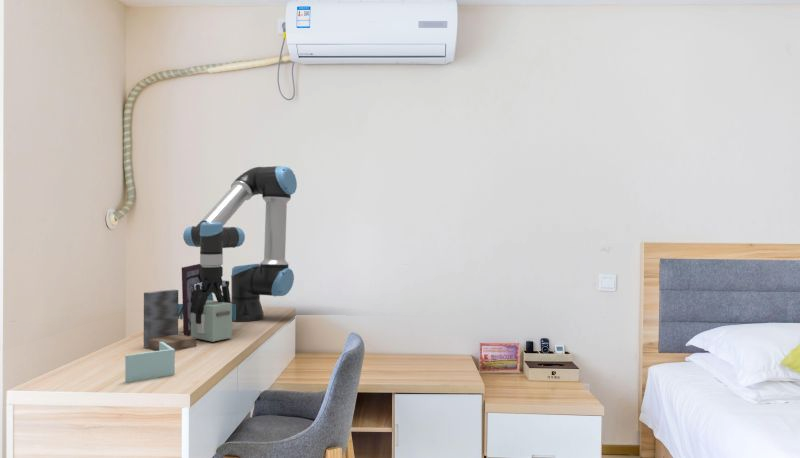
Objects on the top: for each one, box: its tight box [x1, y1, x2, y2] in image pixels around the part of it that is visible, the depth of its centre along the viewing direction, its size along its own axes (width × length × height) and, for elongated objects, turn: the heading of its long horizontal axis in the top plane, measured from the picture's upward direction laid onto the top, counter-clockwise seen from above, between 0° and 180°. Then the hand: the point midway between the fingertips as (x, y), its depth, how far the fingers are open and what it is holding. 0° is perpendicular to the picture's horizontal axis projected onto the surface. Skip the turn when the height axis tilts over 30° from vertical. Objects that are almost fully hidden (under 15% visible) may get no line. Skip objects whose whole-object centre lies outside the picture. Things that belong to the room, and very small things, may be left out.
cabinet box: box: [190, 300, 233, 343], centre depth 194 cm, size 8×13×12 cm, turn 56°
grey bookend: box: [143, 289, 197, 352], centre depth 182 cm, size 11×12×18 cm
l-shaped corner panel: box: [124, 342, 176, 383], centre depth 150 cm, size 12×12×8 cm
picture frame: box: [178, 263, 202, 336], centre depth 206 cm, size 17×10×25 cm, turn 179°
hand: (211, 330), depth 194 cm, fingers closed on cabinet box, 8 cm apart
